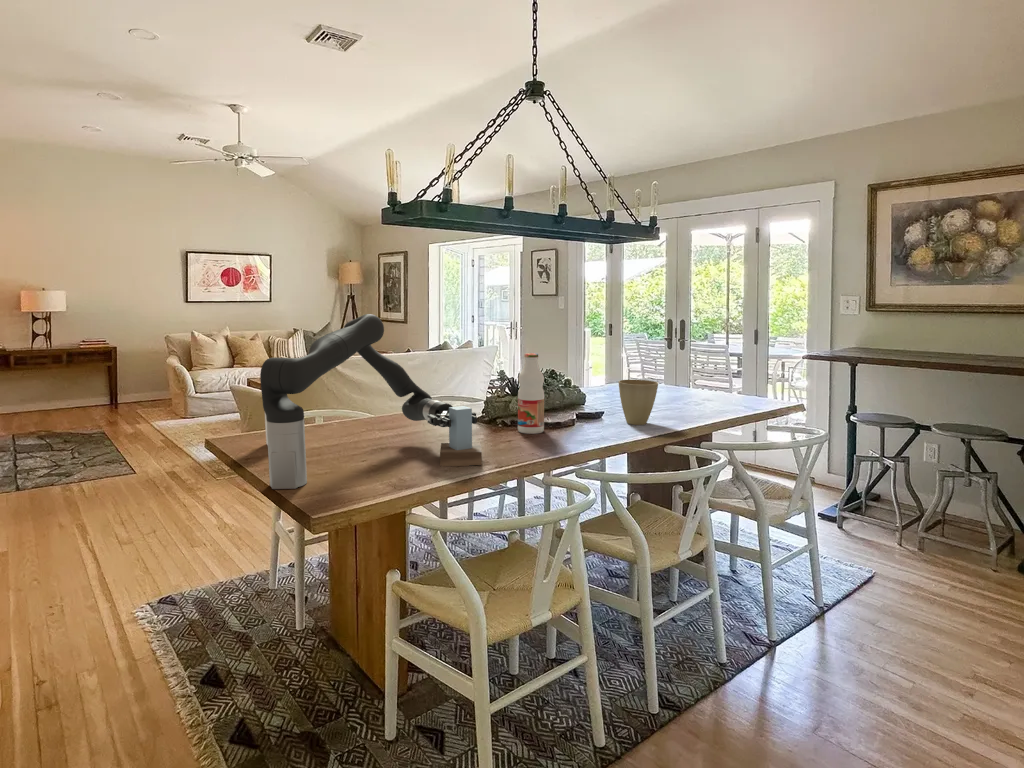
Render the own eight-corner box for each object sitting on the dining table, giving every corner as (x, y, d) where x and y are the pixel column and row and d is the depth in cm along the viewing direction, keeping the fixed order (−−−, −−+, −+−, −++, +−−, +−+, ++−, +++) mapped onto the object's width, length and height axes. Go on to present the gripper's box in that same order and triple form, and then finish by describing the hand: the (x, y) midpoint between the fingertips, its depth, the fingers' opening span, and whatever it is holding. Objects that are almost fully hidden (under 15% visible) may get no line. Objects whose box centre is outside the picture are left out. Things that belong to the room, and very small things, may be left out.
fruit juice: (548, 432, 236) (549, 354, 232) (525, 435, 232) (526, 355, 228) (535, 427, 244) (536, 352, 240) (513, 430, 240) (513, 353, 236)
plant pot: (641, 428, 242) (642, 385, 240) (609, 422, 253) (610, 381, 251) (664, 423, 252) (666, 382, 250) (633, 417, 263) (634, 378, 261)
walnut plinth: (481, 465, 192) (481, 452, 191) (440, 466, 191) (439, 452, 191) (480, 455, 204) (480, 442, 203) (441, 455, 203) (441, 443, 202)
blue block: (457, 450, 193) (456, 409, 192) (449, 446, 198) (448, 407, 196) (472, 448, 196) (471, 408, 194) (464, 444, 200) (463, 405, 199)
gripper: (417, 403, 204) (441, 411, 190) (458, 399, 211) (484, 407, 198) (418, 427, 205) (441, 437, 191) (459, 422, 212) (484, 431, 199)
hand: (463, 422), depth 194 cm, fingers open, 8 cm apart
